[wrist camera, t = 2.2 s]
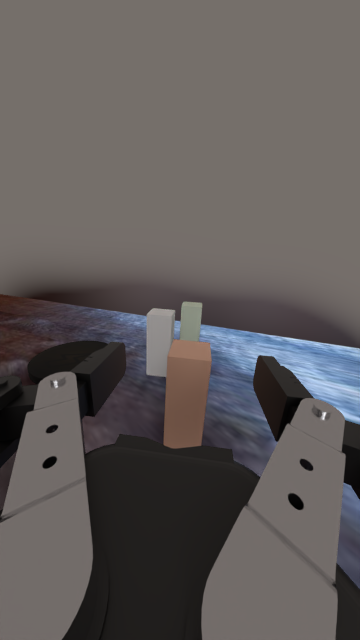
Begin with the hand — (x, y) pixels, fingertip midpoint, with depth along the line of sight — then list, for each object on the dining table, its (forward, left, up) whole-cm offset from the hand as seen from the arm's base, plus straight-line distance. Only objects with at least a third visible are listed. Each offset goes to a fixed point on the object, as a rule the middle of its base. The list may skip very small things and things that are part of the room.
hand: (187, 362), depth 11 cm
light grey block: (-7, +27, -19) cm, 34 cm away
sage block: (-1, +37, -19) cm, 42 cm away
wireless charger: (-27, +26, -19) cm, 42 cm away
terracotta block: (0, +11, -19) cm, 22 cm away
